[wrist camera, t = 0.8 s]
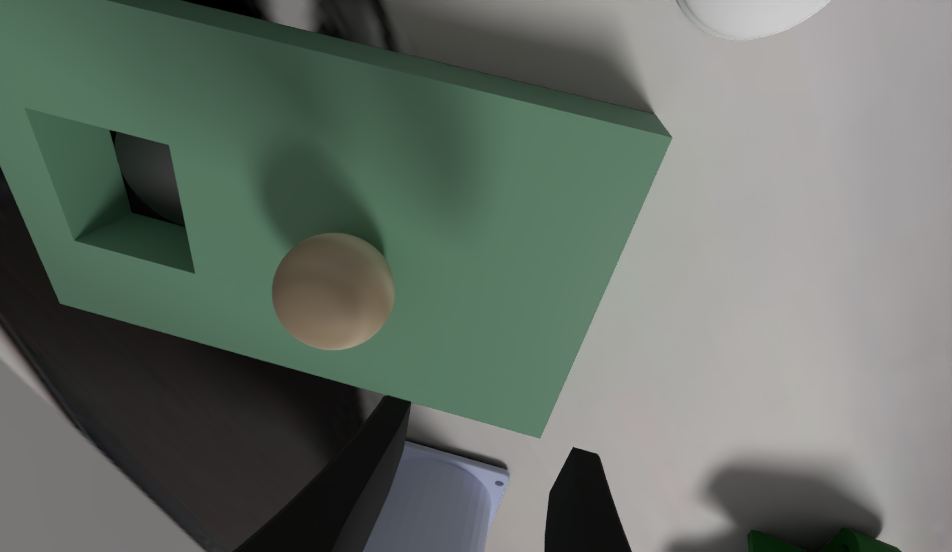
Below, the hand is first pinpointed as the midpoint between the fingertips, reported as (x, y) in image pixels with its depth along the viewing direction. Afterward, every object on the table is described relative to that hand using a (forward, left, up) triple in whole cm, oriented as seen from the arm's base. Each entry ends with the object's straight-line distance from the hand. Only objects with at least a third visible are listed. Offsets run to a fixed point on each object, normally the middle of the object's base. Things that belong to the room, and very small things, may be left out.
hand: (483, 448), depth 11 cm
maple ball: (0, +6, -4) cm, 7 cm away
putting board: (0, +9, -9) cm, 13 cm away
